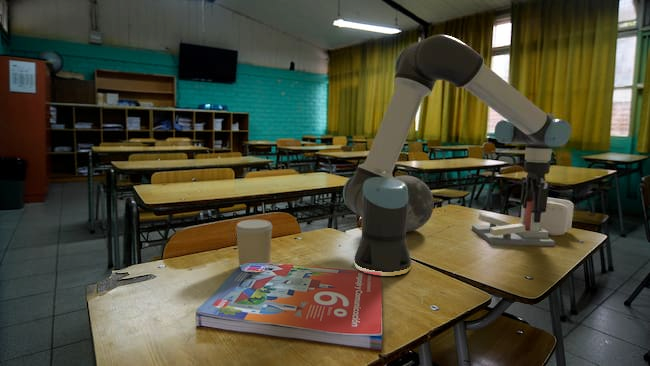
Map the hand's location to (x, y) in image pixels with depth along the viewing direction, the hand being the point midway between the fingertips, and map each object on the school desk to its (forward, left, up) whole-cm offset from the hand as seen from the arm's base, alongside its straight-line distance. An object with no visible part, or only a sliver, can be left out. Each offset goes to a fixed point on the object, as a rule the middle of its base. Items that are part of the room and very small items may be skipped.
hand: (530, 228), depth 130 cm
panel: (-6, +1, -3) cm, 7 cm away
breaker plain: (-10, +6, +1) cm, 12 cm away
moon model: (-42, +6, -4) cm, 43 cm away
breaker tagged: (-10, -5, 0) cm, 11 cm away
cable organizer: (+11, +10, -4) cm, 15 cm away
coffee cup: (-88, -32, -4) cm, 94 cm away
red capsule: (0, 0, -2) cm, 2 cm away
